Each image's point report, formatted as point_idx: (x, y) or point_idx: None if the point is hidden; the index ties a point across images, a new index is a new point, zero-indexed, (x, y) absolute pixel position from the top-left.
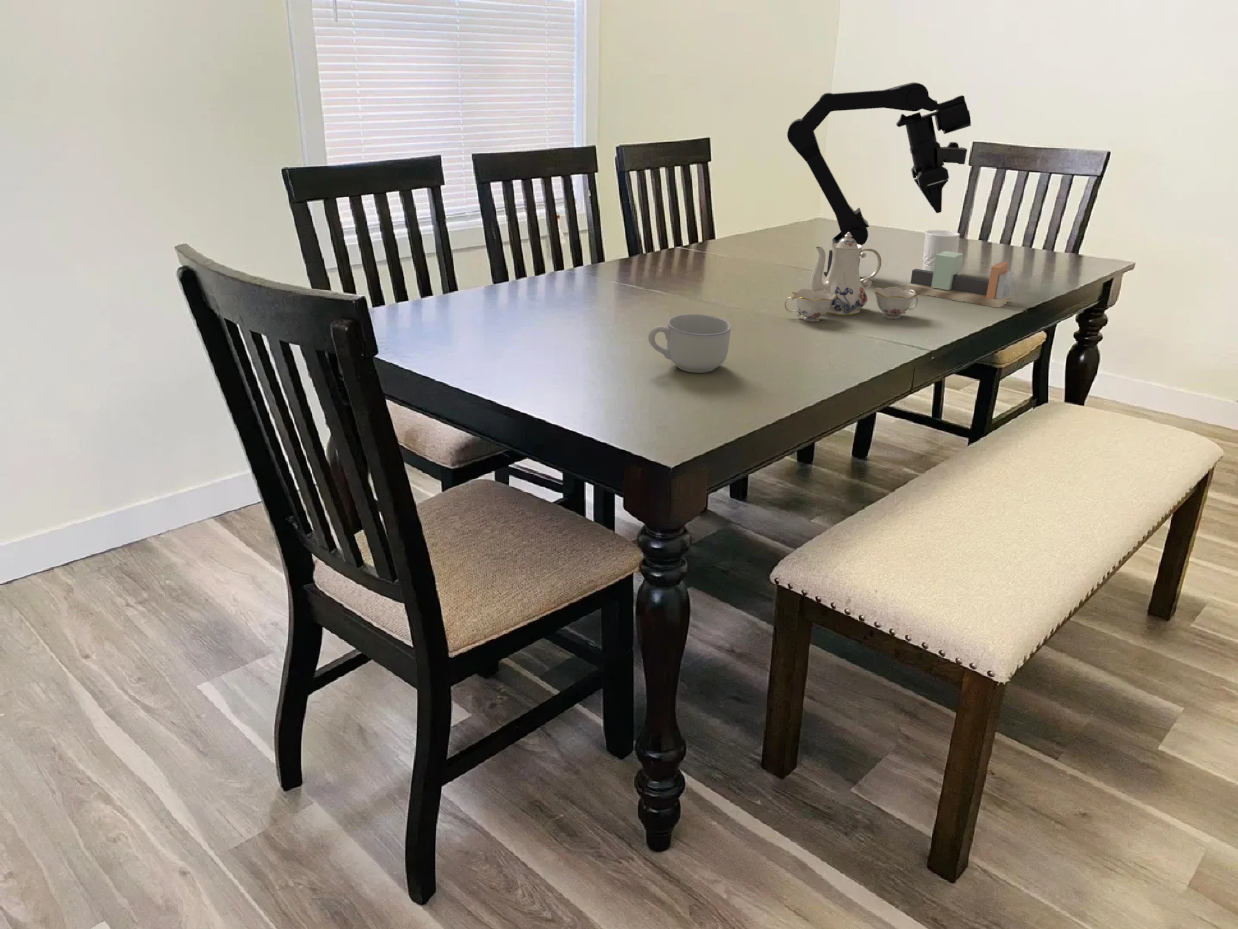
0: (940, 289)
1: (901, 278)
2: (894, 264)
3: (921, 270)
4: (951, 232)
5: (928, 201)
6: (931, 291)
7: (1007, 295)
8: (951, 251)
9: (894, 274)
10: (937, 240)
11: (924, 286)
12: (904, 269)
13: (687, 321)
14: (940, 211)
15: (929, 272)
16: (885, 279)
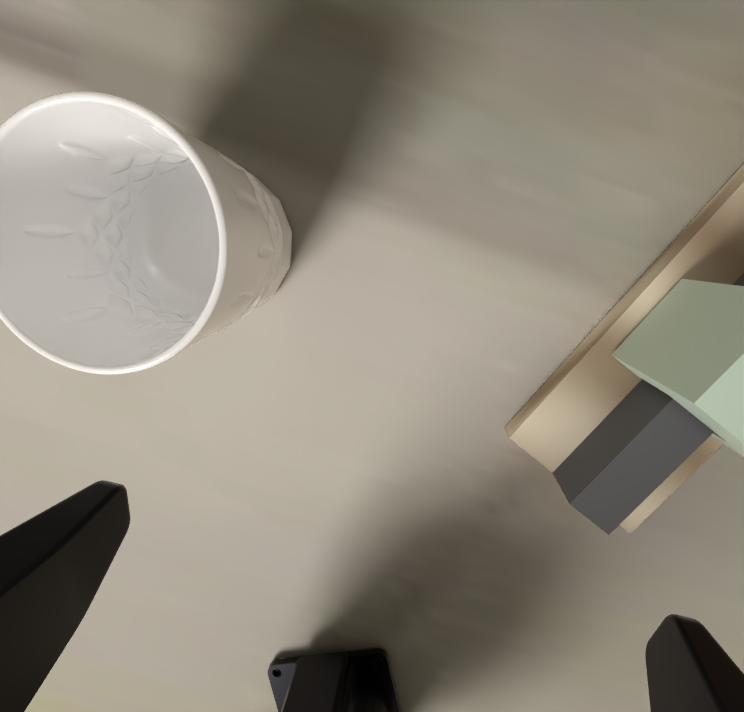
0: None
1: (338, 450)
2: (33, 391)
3: (617, 486)
4: (13, 135)
5: (81, 620)
6: None
7: None
8: (249, 191)
9: (255, 457)
10: (226, 309)
11: None
12: (138, 375)
13: None
14: (699, 632)
15: (675, 459)
16: (366, 529)
